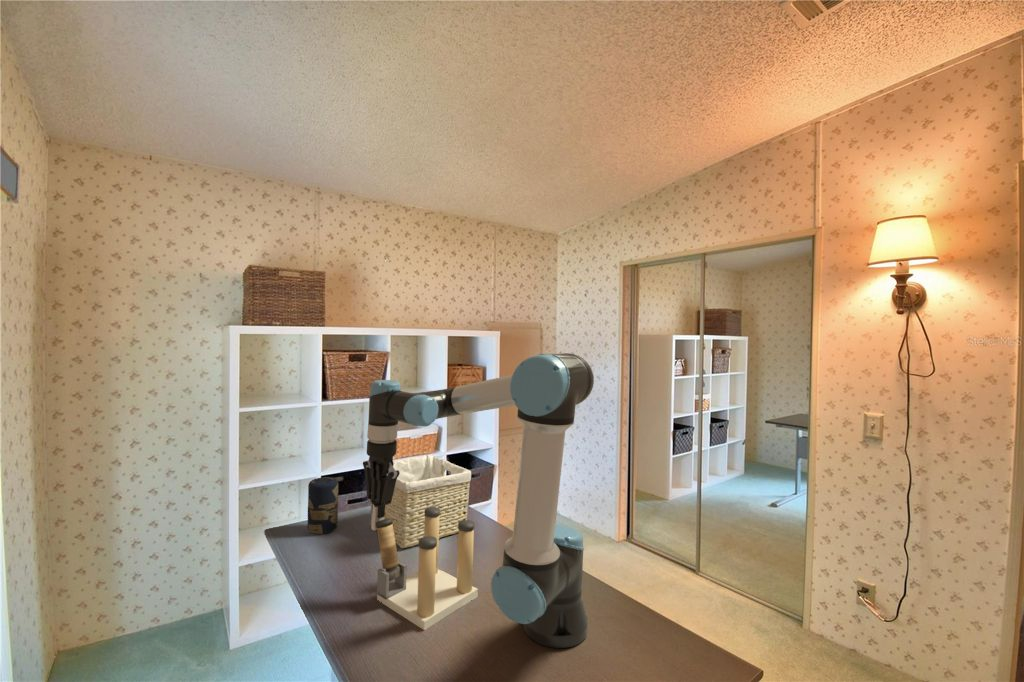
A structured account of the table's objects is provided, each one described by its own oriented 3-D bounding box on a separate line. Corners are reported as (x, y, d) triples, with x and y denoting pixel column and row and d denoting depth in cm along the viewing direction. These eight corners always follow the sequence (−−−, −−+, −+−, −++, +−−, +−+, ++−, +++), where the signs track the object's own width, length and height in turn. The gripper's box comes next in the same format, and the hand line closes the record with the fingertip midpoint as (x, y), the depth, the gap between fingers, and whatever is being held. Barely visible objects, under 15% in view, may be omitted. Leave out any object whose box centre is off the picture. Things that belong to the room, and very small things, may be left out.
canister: (330, 536, 150) (331, 482, 150) (301, 535, 150) (303, 481, 150) (341, 524, 160) (343, 473, 159) (314, 523, 160) (316, 472, 160)
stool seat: (477, 596, 119) (480, 523, 118) (422, 631, 104) (424, 548, 104) (431, 572, 130) (433, 505, 130) (375, 601, 115) (377, 525, 115)
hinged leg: (394, 576, 119) (404, 576, 116) (381, 582, 115) (391, 583, 113) (385, 518, 121) (395, 517, 119) (372, 523, 118) (381, 522, 116)
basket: (431, 507, 178) (433, 451, 178) (473, 530, 159) (475, 468, 158) (365, 525, 160) (366, 463, 160) (403, 554, 140) (405, 483, 140)
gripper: (409, 442, 118) (404, 531, 119) (379, 432, 126) (375, 516, 127) (385, 447, 112) (379, 541, 113) (355, 436, 120) (350, 524, 121)
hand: (377, 528), depth 120 cm, fingers closed
